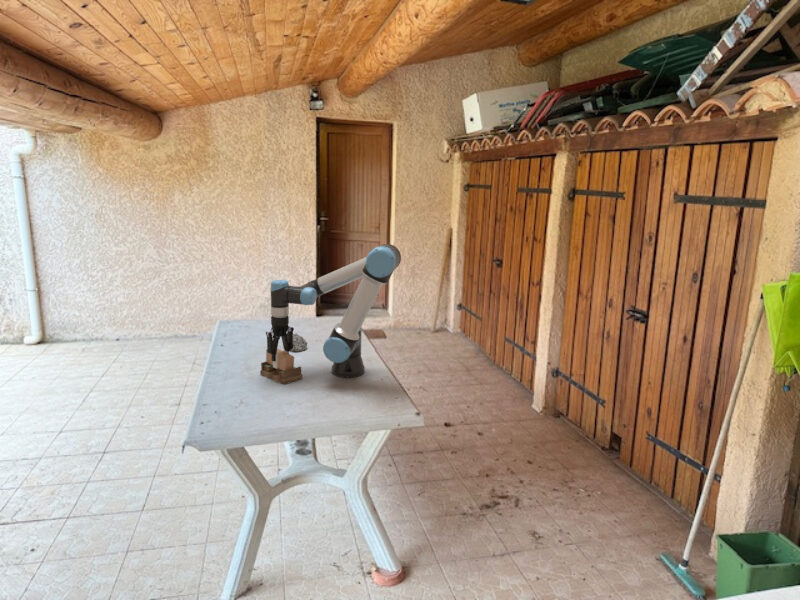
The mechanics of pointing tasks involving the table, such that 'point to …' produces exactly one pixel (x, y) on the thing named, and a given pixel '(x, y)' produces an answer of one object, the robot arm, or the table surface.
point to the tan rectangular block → (282, 360)
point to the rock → (298, 343)
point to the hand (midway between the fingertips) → (280, 366)
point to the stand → (280, 373)
